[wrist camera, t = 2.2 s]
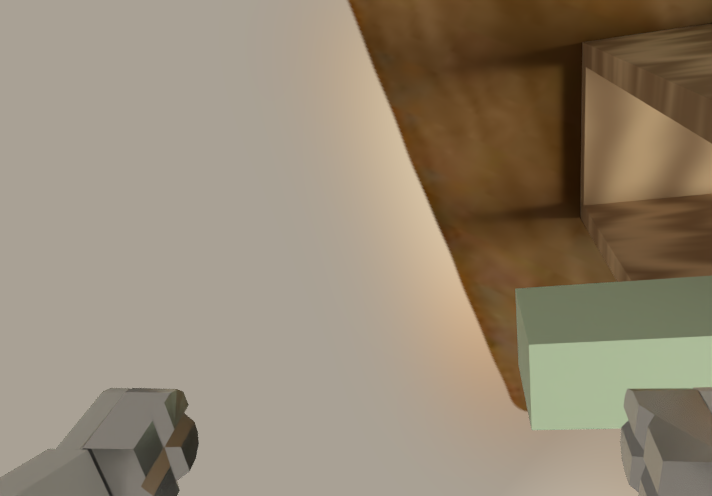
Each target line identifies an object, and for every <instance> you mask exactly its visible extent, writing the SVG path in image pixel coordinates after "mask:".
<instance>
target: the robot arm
mask: <svg viewBox="0 0 712 496" xmlns="http://www.w3.org/2000/svg"><path fill="white" fill-rule="evenodd" d="M187 407H188V403H187V400H186V397H185V395H184V392H182V391H180V390H177V389H147V388H132V389H126V388H110V389H108V390H105V391H103V392H102V393H101V394H100V396H99V397H98V398H97V399H96V401H95V402H94V403H93V404H92V405H91V407H90V408H89V409H88V410H87V412H86V413H85V414H84V415H83V416H82V418H81V419H80V420H79V421H78V422H77V424H76V425H75V426H74V427H73V428H72V430H71V431H70V432H69V433H68V435H67V436H66V437H65V438H64V440H63V441H62V442H61V443H60V444H59V446H58V447H57V448H56V449H47V450H46V451H44V452H42V453H41V454H39V455H37V456H36V457H34V458H32V459H31V460H29V461H27V462H26V463H24V464H22V465H21V466H19V467H17V468H15V469H14V470H12V471H11V472H9V473H7V474H5V475H4V476H2V477H0V496H177V495H178V493H179V486H178V482H177V480H179V479H180V478H181V477H182V476H184V475H185V474H187V473H188V472H189V471H190V469H191V467H192V465H193V463H194V461H195V459H196V455H197V449H198V444H199V442H198V431H197V428H196V425H195V422H194V421H193V420H192V419H190V418H189V417H188V416H187V415H186V414H185V411H186V409H187ZM624 409H625V412H626V415H627V417H628V421H627V422H626V423H625V424H624V425H623V426H622V427H621V454H622V461H623V466H624V470H625V473H626V477H627V480H628V483H629V485H631V486H632V487H633V488H634V489H635V490H636V491H638V492H639V496H712V387H695V388H692V389H691V388H644V389H627V391H626V394H625V399H624Z"/></svg>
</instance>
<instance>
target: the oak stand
mask: <svg viewBox="0 0 712 496" xmlns="http://www.w3.org/2000/svg"><path fill="white" fill-rule="evenodd" d="M580 218H581V220H582V222H583V224H584V225H585V227H586V229H587V230H588V232H589V234H590V236H591V237H592V239H593V241H594V242H595V244H596V246H597V248H598V249H599V251H600V253H601V254H602V256H603V258H604V260H605V261H606V263H607V265H608V266H609V268H610V270H611V272H612V273H613V275H614V277H615V278H616V280H617V282H623V281H638V280H653V279H668V278H683V277H698V276H712V23H710V24H703V25H696V26H689V27H682V28H675V29H669V30H662V31H655V32H648V33H641V34H634V35H628V36H621V37H614V38H607V39H600V40H593V41H586V42H582V113H581V199H580Z"/></svg>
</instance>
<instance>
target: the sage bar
mask: <svg viewBox="0 0 712 496" xmlns="http://www.w3.org/2000/svg"><path fill="white" fill-rule="evenodd" d="M515 291H516V314H517V337H518V360H519V369H520V374H521V379H522V384H523V389H524V394H525V399H526V404H527V409H528V414H529V419H530V424H531V429H532V430H560V429H561V430H562V429H611V428H621V427H622V426H623V425H624V424H625V423H626V422H627V421H628V417H627V415H626V412H625V409H624V399H625V394H626V391H627V389H644V388H691V389H692V388H695V387H712V276H698V277H683V278H668V279H653V280H638V281H623V282H608V283H594V284H579V285H564V286H549V287H534V288H519V289H515Z"/></svg>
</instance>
